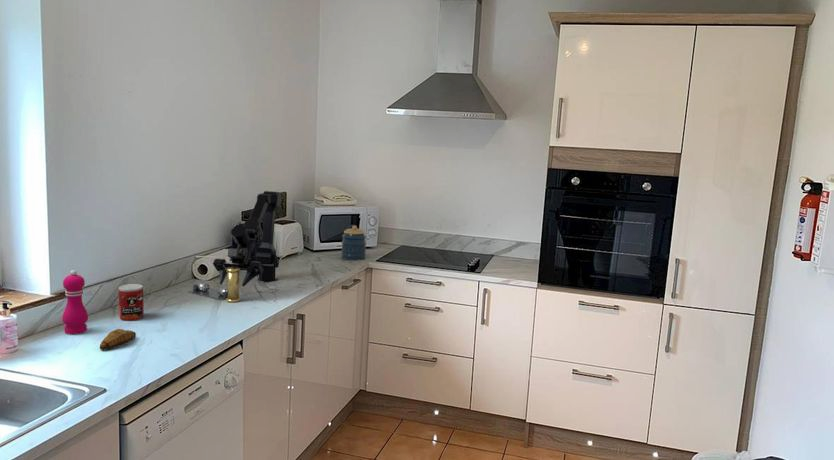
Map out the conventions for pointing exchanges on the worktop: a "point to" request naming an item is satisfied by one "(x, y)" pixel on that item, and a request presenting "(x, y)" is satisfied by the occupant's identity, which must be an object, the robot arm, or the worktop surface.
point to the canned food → (131, 302)
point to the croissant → (117, 338)
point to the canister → (354, 243)
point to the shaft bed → (209, 291)
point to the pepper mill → (74, 305)
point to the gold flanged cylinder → (233, 284)
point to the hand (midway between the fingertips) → (231, 285)
